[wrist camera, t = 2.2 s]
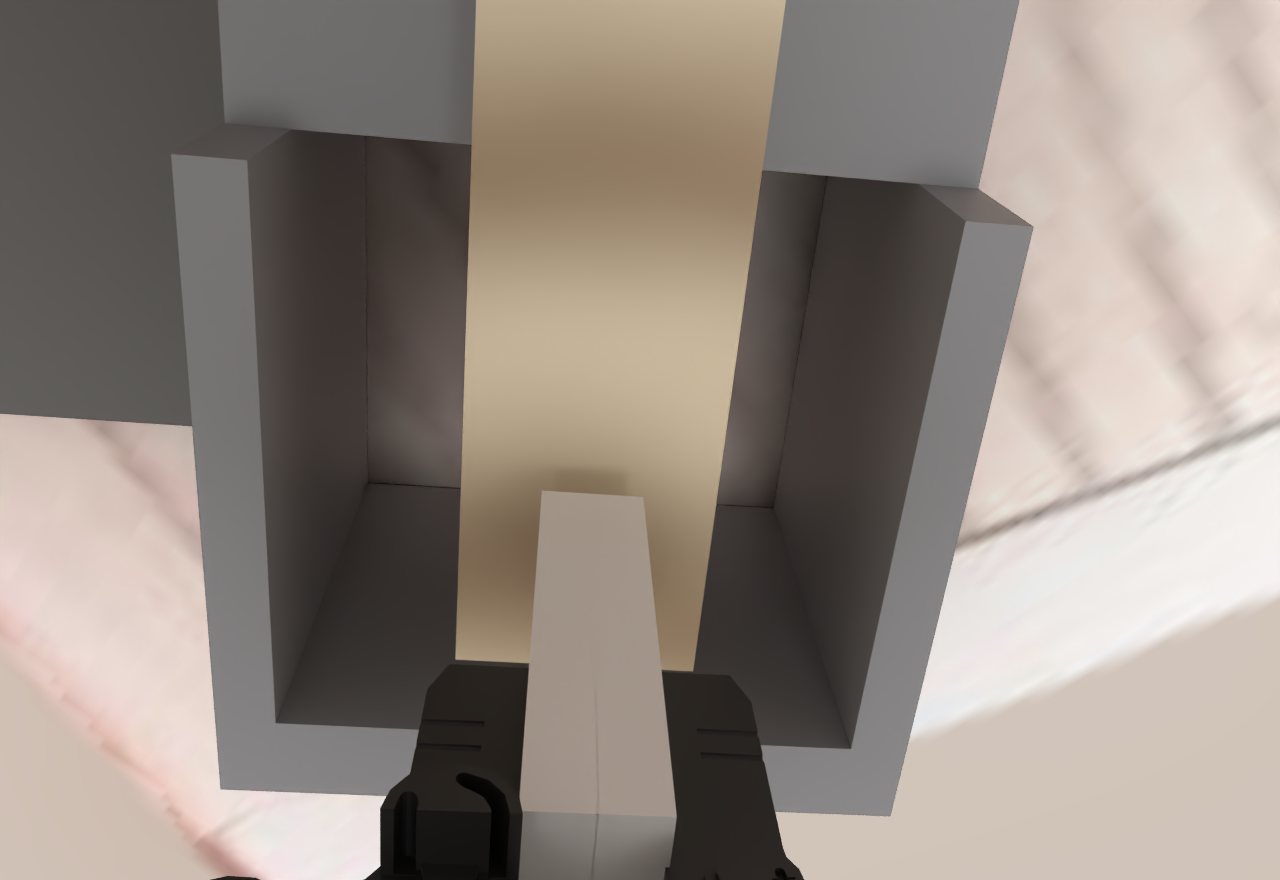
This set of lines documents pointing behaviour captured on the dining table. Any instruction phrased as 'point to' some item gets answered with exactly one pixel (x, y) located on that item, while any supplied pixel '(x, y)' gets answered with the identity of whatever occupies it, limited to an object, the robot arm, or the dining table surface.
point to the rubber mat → (98, 202)
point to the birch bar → (605, 285)
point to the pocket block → (430, 516)
